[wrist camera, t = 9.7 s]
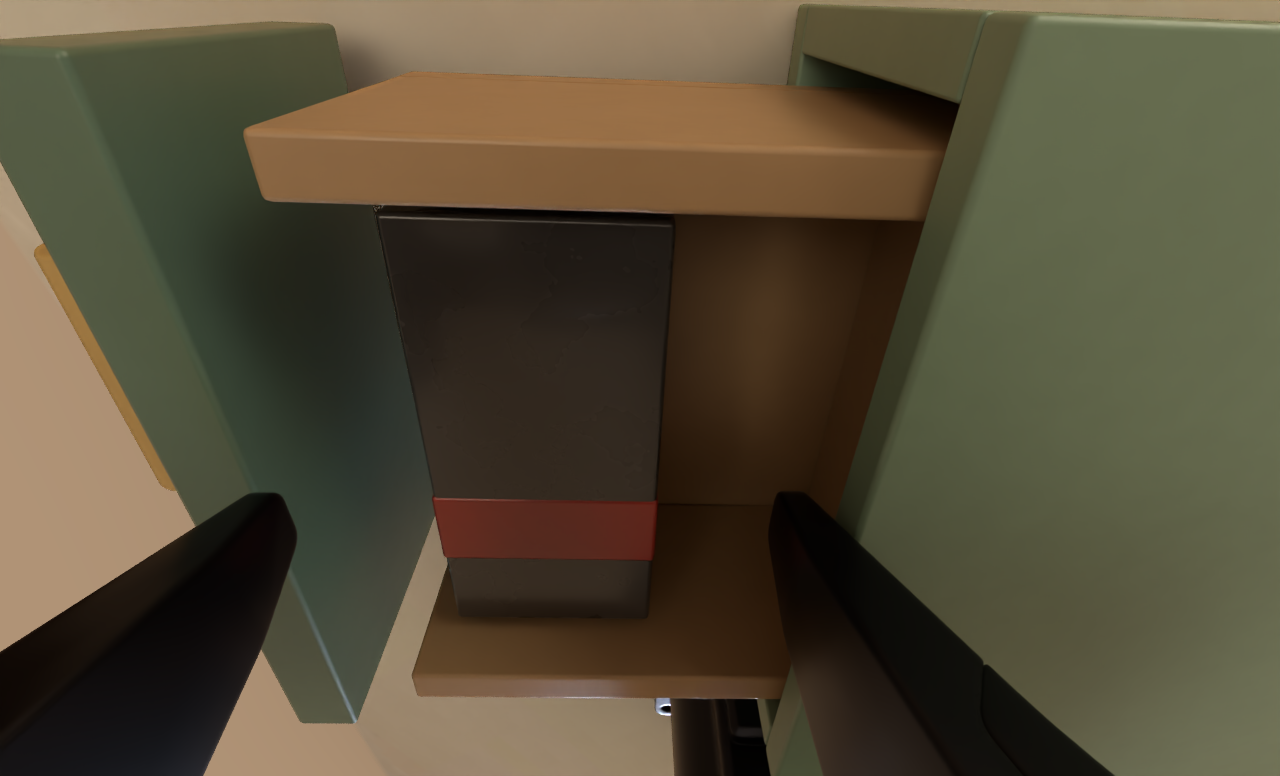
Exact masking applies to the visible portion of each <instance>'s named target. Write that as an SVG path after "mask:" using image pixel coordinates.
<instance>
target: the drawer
mask: <svg viewBox="0 0 1280 776" xmlns="http://www.w3.org/2000/svg"><path fill="white" fill-rule="evenodd" d="M959 107H960V104H957V103H954V102H951V101H948V100H945V99H942V98H938V97H935V96H932V95H929V94H926V93H923V92H920V91H917V90H899V89H872V88H845V87H818V86H791V85H764V84H737V83H710V82H683V81H656V80H629V79H602V78H575V77H548V76H521V75H494V74H467V73H439V72H409V73H406V74H403V75H400V76H398V77H395V78H392V79H389V80H386V81H383V82H380V83H377V84H374V85H371V86H368V87H365V88H362V89H359V90H356V91H353V92H350V93H348V89H347V84H346V79H345V75H344V70H343V65H342V61H341V56H340V51H339V46H338V42H337V37H336V32H335V29H334V27H333V26H332V25H330V24H324V23H298V22H273V21H272V22H257V23H242V24H226V25H211V26H196V27H180V28H165V29H150V30H135V31H119V32H104V33H89V34H74V35H58V36H43V37H28V38H13V39H0V162H1V164H2V166H3V168H4V169H5V171H6V173H7V175H8V177H9V179H10V181H11V183H12V184H13V186H14V188H15V190H16V192H17V194H18V196H19V197H20V199H21V201H22V203H23V205H24V207H25V209H26V211H27V212H28V214H29V216H30V218H31V220H32V222H33V224H34V225H35V227H36V229H37V231H38V233H39V235H40V237H41V239H42V240H43V242H44V244H41V245H40V246H38V247H37V248H36V249H35V251H34V256H35V258H36V260H37V262H38V264H39V266H40V267H41V269H42V271H43V273H44V275H45V276H46V278H47V280H48V282H49V284H50V285H51V287H52V289H53V291H54V293H55V295H56V296H57V298H58V300H59V302H60V304H61V305H62V307H63V309H64V311H65V313H66V315H67V316H68V318H69V320H70V322H71V324H72V325H73V327H74V329H75V331H76V333H77V334H78V336H79V338H80V340H81V342H82V344H83V345H84V347H85V349H86V351H87V352H88V354H89V356H90V358H91V360H92V362H93V363H94V365H95V367H96V369H97V371H98V373H99V374H100V376H101V378H102V380H103V381H104V383H105V385H106V387H107V389H108V391H109V392H110V394H111V396H112V398H113V400H114V402H115V403H116V405H117V407H118V409H119V411H120V412H121V414H122V416H123V418H124V420H125V421H126V423H127V425H128V427H129V429H130V431H131V432H132V434H133V436H134V438H135V440H136V441H137V443H138V445H139V447H140V449H141V451H142V452H143V454H144V456H145V458H146V460H147V461H148V463H149V465H150V467H151V468H152V470H153V472H154V474H155V476H156V478H157V480H158V481H159V483H160V485H161V486H163V487H164V488H166V489H168V490H172V491H177V493H178V495H179V496H180V498H181V500H182V502H183V504H184V506H185V508H186V509H187V511H188V513H189V515H190V517H191V519H192V521H193V522H194V524H195V526H198V525H199V524H201V523H203V522H204V521H206V520H207V519H209V518H210V517H212V516H213V515H215V514H217V513H218V512H220V511H221V510H223V509H224V508H226V507H227V506H229V505H231V504H232V503H234V502H235V501H237V500H238V499H240V498H242V497H243V496H245V495H247V494H249V493H259V492H274V493H279V494H280V495H281V496H282V497H283V498H284V500H285V502H286V505H287V507H288V510H289V512H290V515H291V517H292V519H293V522H294V524H295V527H296V530H297V535H298V540H297V546H296V549H295V552H294V555H293V558H292V561H291V564H290V567H289V570H288V573H287V576H286V579H285V582H284V585H283V588H282V591H281V594H280V597H279V600H278V603H277V606H276V609H275V612H274V615H273V618H272V621H271V624H270V627H269V630H268V632H267V635H266V638H265V641H264V643H263V645H262V648H261V650H262V652H263V653H264V655H265V657H266V659H267V661H268V663H269V665H270V666H271V668H272V670H273V672H274V674H275V676H276V678H277V679H278V681H279V683H280V685H281V687H282V689H283V691H284V693H285V695H286V696H287V698H288V700H289V702H290V704H291V706H292V707H293V709H294V711H295V713H296V715H297V717H298V719H299V721H300V722H302V723H348V724H349V723H350V724H353V723H356V721H357V720H358V717H359V714H360V712H361V709H362V707H363V704H364V701H365V699H366V696H367V693H368V691H369V688H370V685H371V683H372V680H373V678H374V675H375V672H376V670H377V667H378V664H379V662H380V659H381V656H382V654H383V651H384V649H385V646H386V643H387V641H388V638H389V635H390V633H391V630H392V627H393V625H394V622H395V620H396V617H397V614H398V612H399V609H400V606H401V604H402V601H403V598H404V596H405V593H406V591H407V588H408V585H409V583H410V580H411V577H412V575H413V572H414V569H415V567H416V564H417V562H418V559H419V556H420V554H421V551H422V548H423V546H424V543H425V540H426V538H427V535H428V533H429V530H430V527H431V525H432V522H433V519H434V517H435V511H434V507H433V502H432V496H433V490H432V485H431V480H430V475H429V470H428V465H427V461H426V456H425V451H424V446H423V441H422V436H421V432H420V427H419V422H418V417H417V412H416V408H415V403H414V398H413V394H412V389H411V384H410V380H409V375H408V370H407V366H406V361H405V356H404V351H403V347H402V342H401V337H400V333H399V328H398V323H397V319H396V314H395V309H394V305H393V300H392V295H391V290H390V286H389V281H388V276H387V272H386V267H385V262H384V258H383V253H382V248H381V244H380V239H379V234H378V229H377V225H376V220H375V215H374V211H373V206H372V205H398V206H431V207H464V208H497V209H530V210H563V211H595V212H628V213H661V214H674V218H675V223H676V236H675V250H674V264H673V279H672V293H671V307H670V321H669V335H668V350H667V364H666V378H665V392H664V406H663V421H662V435H661V449H660V463H659V477H658V501H659V503H658V517H657V531H656V545H655V556H654V559H653V563H652V577H651V591H650V605H649V615H648V617H647V618H646V619H599V618H514V617H461V616H459V615H458V610H457V605H456V600H455V596H454V591H453V586H452V581H451V576H450V571H449V567H448V565H447V568H446V571H445V574H444V577H443V580H442V583H441V587H440V590H439V593H438V596H437V599H436V602H435V605H434V608H433V611H432V614H431V617H430V621H429V624H428V627H427V630H426V633H425V636H424V639H423V642H422V645H421V648H420V651H419V654H418V658H417V661H416V664H415V667H414V670H413V673H412V679H413V682H414V685H415V688H416V692H417V695H418V696H421V697H551V698H703V699H781V697H782V693H783V690H784V687H785V683H786V680H787V677H788V674H789V670H790V667H791V664H792V663H791V660H790V656H789V653H788V649H787V645H786V641H785V637H784V633H783V628H782V622H781V616H780V610H779V604H778V598H777V592H776V586H775V579H774V573H773V567H772V561H771V555H770V549H769V542H768V528H769V523H770V518H771V513H772V509H773V504H774V499H775V496H776V494H777V493H778V492H780V491H803V492H805V493H806V494H808V495H809V496H810V497H811V498H812V499H813V500H814V501H815V502H816V503H817V504H818V505H819V506H820V507H822V508H823V509H824V510H825V511H826V512H827V513H828V514H829V515H830V516H831V517H832V518H833V519H834V520H835V518H836V514H837V511H838V508H839V504H840V501H841V498H842V495H843V491H844V488H845V485H846V481H847V478H848V475H849V471H850V468H851V465H852V461H853V458H854V455H855V451H856V448H857V445H858V441H859V438H860V435H861V432H862V428H863V425H864V422H865V418H866V415H867V412H868V408H869V405H870V402H871V398H872V395H873V392H874V388H875V385H876V382H877V379H878V375H879V372H880V369H881V365H882V362H883V359H884V355H885V352H886V349H887V345H888V342H889V339H890V335H891V332H892V329H893V325H894V322H895V319H896V316H897V312H898V309H899V306H900V302H901V299H902V296H903V292H904V289H905V286H906V282H907V279H908V276H909V272H910V269H911V266H912V262H913V259H914V256H915V253H916V249H917V246H918V243H919V239H920V236H921V233H922V229H923V226H924V223H925V219H926V216H927V213H928V209H929V206H930V203H931V200H932V196H933V193H934V190H935V186H936V183H937V180H938V176H939V173H940V170H941V166H942V163H943V160H944V156H945V153H946V150H947V146H948V143H949V140H950V137H951V133H952V130H953V127H954V123H955V120H956V117H957V113H958V110H959Z"/></svg>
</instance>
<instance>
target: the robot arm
mask: <svg viewBox="0 0 1280 776" xmlns="http://www.w3.org/2000/svg"><path fill="white" fill-rule="evenodd" d="M297 540H298V535H297V530H296V527H295V524H294V522H293V519H292V517H291V515H290V512H289V510H288V507H287V505H286V502H285V500H284V498H283V497H282V496H281V495H280V494H279V493H274V492H259V493H249V494H247V495H245V496H243V497H242V498H240V499H238V500H237V501H235V502H234V503H232V504H231V505H229V506H227V507H226V508H224V509H223V510H221V511H220V512H218V513H217V514H215V515H213V516H212V517H210V518H209V519H207V520H206V521H204V522H203V523H201V524H199V525H198V526H196V527H195V528H193V529H192V530H190V531H189V532H187V533H185V534H184V535H183V536H181V537H179V538H178V539H176V540H174V541H173V542H171V543H170V544H168V545H167V546H165V547H163V548H162V549H160V550H159V551H158V552H156V553H154V554H153V555H151V556H149V557H148V558H146V559H145V560H143V561H142V562H140V563H139V564H137V565H135V566H134V567H132V568H131V569H129V570H128V571H126V572H124V573H123V574H121V575H120V576H118V577H117V578H115V579H114V580H112V581H110V582H109V583H107V584H106V585H104V586H103V587H101V588H100V589H98V590H96V591H95V592H93V593H92V594H90V595H89V596H87V597H85V598H84V599H82V600H81V601H79V602H78V603H76V604H74V605H73V606H71V607H70V608H68V609H67V610H65V611H64V612H62V613H60V614H59V615H57V616H56V617H54V618H53V619H51V620H49V621H48V622H46V623H45V624H43V625H42V626H40V627H39V628H37V629H35V630H34V631H32V632H31V633H29V634H28V635H26V636H24V637H23V638H21V639H20V640H18V641H17V642H15V643H13V644H12V645H10V646H9V647H7V648H6V649H4V650H3V651H1V652H0V776H203V775H204V773H205V771H206V768H207V766H208V764H209V761H210V760H211V757H212V755H213V753H214V751H215V749H216V746H217V744H218V742H219V740H220V738H221V736H222V733H223V731H224V729H225V727H226V725H227V722H228V720H229V718H230V716H231V714H232V711H233V709H234V707H235V705H236V703H237V700H238V699H239V696H240V694H241V692H242V690H243V688H244V685H245V683H246V681H247V679H248V677H249V674H250V672H251V670H252V668H253V666H254V664H255V661H256V659H257V657H258V655H259V652H260V650H261V648H262V645H263V643H264V641H265V638H266V635H267V632H268V630H269V627H270V624H271V621H272V618H273V615H274V612H275V609H276V606H277V603H278V600H279V597H280V594H281V591H282V588H283V585H284V582H285V579H286V576H287V573H288V570H289V567H290V564H291V561H292V558H293V555H294V552H295V549H296V546H297ZM768 542H769V549H770V555H771V561H772V567H773V573H774V579H775V586H776V592H777V598H778V604H779V610H780V616H781V622H782V628H783V633H784V637H785V641H786V645H787V649H788V653H789V656H790V660H791V663H792V667H793V671H794V674H795V678H796V681H797V685H798V688H799V692H800V695H801V699H802V702H803V706H804V710H805V713H806V717H807V720H808V724H809V727H810V731H811V734H812V738H813V741H814V745H815V749H816V752H817V756H818V759H819V763H820V766H821V770H822V773H823V776H1115V775H1114V774H1112V773H1111V772H1110V771H1109V770H1108V769H1106V768H1105V767H1104V766H1103V765H1101V764H1100V763H1099V762H1098V761H1097V760H1095V759H1094V758H1093V757H1092V756H1091V755H1090V754H1088V753H1087V752H1086V751H1085V750H1084V749H1082V748H1081V747H1080V746H1079V745H1078V744H1076V743H1075V742H1074V741H1073V740H1072V739H1071V738H1069V737H1068V736H1067V735H1066V734H1065V733H1063V732H1062V731H1061V730H1060V729H1059V728H1058V727H1056V726H1055V725H1054V724H1053V723H1052V722H1050V721H1049V720H1048V719H1047V718H1046V717H1045V716H1044V715H1043V714H1042V713H1041V712H1039V711H1038V710H1037V709H1036V708H1035V707H1034V706H1033V705H1032V704H1031V703H1030V702H1028V701H1027V700H1026V699H1025V698H1024V697H1023V696H1022V695H1021V694H1020V693H1018V692H1017V691H1016V690H1015V689H1014V688H1013V687H1012V686H1011V685H1010V684H1009V683H1008V682H1007V681H1006V680H1004V679H1003V678H1002V677H1001V676H1000V675H999V674H998V673H997V672H996V671H995V670H994V669H993V668H992V667H991V666H990V665H988V664H985V665H983V664H984V662H983V659H982V658H981V657H980V656H979V655H978V654H977V653H975V652H974V651H973V650H972V649H971V648H970V647H969V646H968V645H967V644H966V643H965V642H964V641H963V640H962V639H961V638H960V637H958V636H957V635H956V634H955V633H954V632H953V631H952V630H951V629H950V628H949V627H948V626H947V625H946V624H945V623H944V622H943V621H942V620H940V619H939V618H938V617H937V616H936V615H935V614H934V613H933V612H932V611H931V610H930V609H929V608H928V607H927V606H926V605H925V604H923V603H922V602H921V601H920V600H919V599H918V598H917V597H916V596H915V595H914V594H913V593H912V592H911V591H910V590H909V589H908V588H906V587H905V586H904V585H903V584H902V583H901V582H900V581H899V580H898V579H897V578H896V577H895V576H894V575H893V574H892V573H891V572H889V571H888V570H887V569H886V568H885V567H884V566H883V565H882V564H881V563H880V562H879V561H878V560H877V559H876V558H875V557H874V556H872V555H871V554H870V553H869V552H868V551H867V550H866V549H865V548H864V547H863V546H862V545H861V544H860V543H859V542H858V541H857V540H855V539H854V538H853V537H852V536H851V535H850V534H849V533H848V532H847V531H846V530H845V529H844V528H843V527H842V526H841V525H840V524H838V523H837V522H836V521H835V520H834V519H833V518H832V517H831V516H830V515H829V514H828V513H827V512H826V511H825V510H824V509H823V508H822V507H820V506H819V505H818V504H817V503H816V502H815V501H814V500H813V499H812V498H811V497H810V496H809V495H808V494H806V493H805V492H803V491H780V492H778V493H777V494H776V496H775V499H774V504H773V509H772V513H771V518H770V523H769V528H768ZM655 710H656V712H657V713H659V714H662V715H671V723H672V741H673V759H674V776H771V774H770V769H769V763H768V758H767V752H766V747H767V745H766V744H765V742H764V737H763V731H762V726H761V720H760V714H759V709H758V703H757V699H703V698H655Z"/></svg>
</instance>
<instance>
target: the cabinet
mask: <svg viewBox="0 0 1280 776" xmlns="http://www.w3.org/2000/svg"><path fill="white" fill-rule="evenodd" d="M787 85H791V86H818V87H845V88H872V89H899V90H917V91H920V92H923V93H926V94H929V95H932V96H935V97H938V98H942V99H945V100H948V101H951V102H954V103H957V104H960V107H959V110H958V113H957V117H956V120H955V123H954V127H953V130H952V133H951V137H950V140H949V143H948V146H947V150H946V153H945V156H944V160H943V163H942V166H941V170H940V173H939V176H938V180H937V183H936V186H935V190H934V193H933V196H932V200H931V203H930V206H929V209H928V213H927V216H926V219H925V223H924V226H923V229H922V233H921V236H920V239H919V243H918V246H917V249H916V253H915V256H914V259H913V262H912V266H911V269H910V272H909V276H908V279H907V282H906V286H905V289H904V292H903V296H902V299H901V302H900V306H899V309H898V312H897V316H896V319H895V322H894V325H893V329H892V332H891V335H890V339H889V342H888V345H887V349H886V352H885V355H884V359H883V362H882V365H881V369H880V372H879V375H878V379H877V382H876V385H875V388H874V392H873V395H872V398H871V402H870V405H869V408H868V412H867V415H866V418H865V422H864V425H863V428H862V432H861V435H860V438H859V441H858V445H857V448H856V451H855V455H854V458H853V461H852V465H851V468H850V471H849V475H848V478H847V481H846V485H845V488H844V491H843V495H842V498H841V501H840V504H839V508H838V511H837V514H836V518H835V521H836V522H837V523H838V524H840V525H841V526H842V527H843V528H844V529H845V530H846V531H847V532H848V533H849V534H850V535H851V536H852V537H853V538H854V539H855V540H857V541H858V542H859V543H860V544H861V545H862V546H863V547H864V548H865V549H866V550H867V551H868V552H869V553H870V554H871V555H872V556H874V557H875V558H876V559H877V560H878V561H879V562H880V563H881V564H882V565H883V566H884V567H885V568H886V569H887V570H888V571H889V572H891V573H892V574H893V575H894V576H895V577H896V578H897V579H898V580H899V581H900V582H901V583H902V584H903V585H904V586H905V587H906V588H908V589H909V590H910V591H911V592H912V593H913V594H914V595H915V596H916V597H917V598H918V599H919V600H920V601H921V602H922V603H923V604H925V605H926V606H927V607H928V608H929V609H930V610H931V611H932V612H933V613H934V614H935V615H936V616H937V617H938V618H939V619H940V620H942V621H943V622H944V623H945V624H946V625H947V626H948V627H949V628H950V629H951V630H952V631H953V632H954V633H955V634H956V635H957V636H958V637H960V638H961V639H962V640H963V641H964V642H965V643H966V644H967V645H968V646H969V647H970V648H971V649H972V650H973V651H974V652H975V653H977V654H978V655H979V656H980V657H981V658H982V659H983V662H984V664H983V665H985V664H988V665H990V666H991V667H992V668H993V669H994V670H995V671H996V672H997V673H998V674H999V675H1000V676H1001V677H1002V678H1003V679H1004V680H1006V681H1007V682H1008V683H1009V684H1010V685H1011V686H1012V687H1013V688H1014V689H1015V690H1016V691H1017V692H1018V693H1020V694H1021V695H1022V696H1023V697H1024V698H1025V699H1026V700H1027V701H1028V702H1030V703H1031V704H1032V705H1033V706H1034V707H1035V708H1036V709H1037V710H1038V711H1039V712H1041V713H1042V714H1043V715H1044V716H1045V717H1046V718H1047V719H1048V720H1049V721H1050V722H1052V723H1053V724H1054V725H1055V726H1056V727H1058V728H1059V729H1060V730H1061V731H1062V732H1063V733H1065V734H1066V735H1067V736H1068V737H1069V738H1071V739H1072V740H1073V741H1074V742H1075V743H1076V744H1078V745H1079V746H1080V747H1081V748H1082V749H1084V750H1085V751H1086V752H1087V753H1088V754H1090V755H1091V756H1092V757H1093V758H1094V759H1095V760H1097V761H1098V762H1099V763H1100V764H1101V765H1103V766H1104V767H1105V768H1106V769H1108V770H1109V771H1110V772H1111V773H1112V774H1114V775H1115V776H1280V22H1267V21H1243V20H1219V19H1195V18H1170V17H1146V16H1122V15H1097V14H1073V13H1049V12H1022V11H993V10H965V9H936V8H907V7H878V6H849V5H820V4H802V5H800V7H799V10H798V17H797V23H796V30H795V36H794V43H793V49H792V56H791V62H790V69H789V75H788V82H787ZM757 703H758V709H759V714H760V720H761V726H762V731H763V737H764V742H765V744H766V745H767V747H766V752H767V758H768V763H769V769H770V774H771V776H823V773H822V770H821V766H820V763H819V759H818V756H817V752H816V749H815V745H814V741H813V738H812V734H811V731H810V727H809V724H808V720H807V717H806V713H805V710H804V706H803V702H802V699H801V695H800V692H799V688H798V685H797V681H796V678H795V674H794V671H793V667H792V664H791V667H790V670H789V674H788V677H787V680H786V683H785V687H784V690H783V693H782V697H781V699H757Z"/></svg>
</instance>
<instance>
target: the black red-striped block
mask: <svg viewBox="0 0 1280 776" xmlns="http://www.w3.org/2000/svg"><path fill="white" fill-rule="evenodd" d="M376 220H377V224H378V229H379V234H380V239H381V244H382V249H383V253H384V258H385V263H386V268H387V273H388V277H389V282H390V287H391V292H392V297H393V302H394V306H395V311H396V316H397V321H398V326H399V330H400V335H401V340H402V345H403V350H404V355H405V359H406V364H407V369H408V374H409V379H410V383H411V388H412V393H413V398H414V403H415V408H416V412H417V417H418V422H419V427H420V432H421V436H422V441H423V446H424V451H425V456H426V461H427V465H428V470H429V475H430V480H431V485H432V490H433V496H432V502H433V507H434V511H435V516H436V521H437V526H438V530H439V535H440V540H441V545H442V549H443V554H444V556H445V557H447V562H448V567H449V571H450V576H451V581H452V586H453V591H454V596H455V600H456V605H457V610H458V615H459V616H461V617H514V618H599V619H646V618H647V617H648V615H649V605H650V591H651V577H652V563H653V559H654V556H655V545H656V531H657V517H658V503H659V501H658V477H659V463H660V449H661V435H662V421H663V406H664V392H665V378H666V364H667V350H668V335H669V321H670V307H671V293H672V279H673V264H674V250H675V236H676V223H675V218H674V214H661V213H628V212H595V211H563V210H530V209H497V208H464V207H431V206H398V205H385V206H383V207H382V208H381V209H380V210H379V211H377V214H376Z"/></svg>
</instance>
